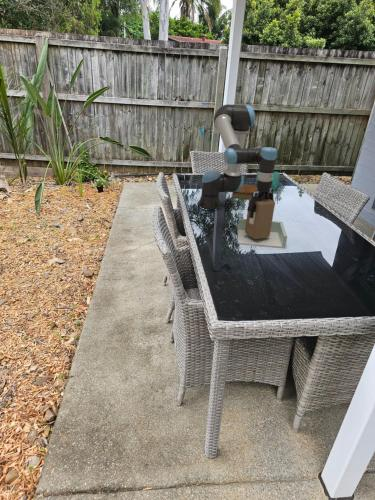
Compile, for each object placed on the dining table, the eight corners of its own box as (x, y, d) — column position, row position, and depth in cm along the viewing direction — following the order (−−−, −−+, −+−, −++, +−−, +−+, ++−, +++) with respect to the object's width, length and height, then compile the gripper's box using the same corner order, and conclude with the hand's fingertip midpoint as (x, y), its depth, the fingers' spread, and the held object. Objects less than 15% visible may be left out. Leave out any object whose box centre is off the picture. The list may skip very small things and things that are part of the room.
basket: (260, 183, 280) (263, 168, 274) (281, 187, 270) (283, 172, 265) (251, 188, 266) (253, 172, 260) (272, 192, 256) (274, 176, 250)
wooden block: (258, 230, 181) (263, 195, 172) (270, 237, 173) (276, 201, 164) (243, 232, 177) (248, 197, 168) (255, 240, 169) (260, 203, 160)
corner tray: (238, 244, 169) (239, 232, 166) (237, 229, 187) (239, 218, 184) (285, 248, 167) (287, 236, 164) (280, 232, 184) (282, 221, 181)
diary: (257, 201, 237) (258, 193, 235) (231, 199, 240) (232, 191, 237) (257, 192, 258) (258, 185, 255) (233, 190, 260) (234, 183, 258)
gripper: (254, 185, 153) (249, 228, 163) (285, 178, 166) (278, 219, 175) (243, 181, 158) (238, 223, 168) (273, 175, 171) (267, 215, 181)
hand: (258, 221), depth 172 cm, fingers closed on wooden block, 11 cm apart
